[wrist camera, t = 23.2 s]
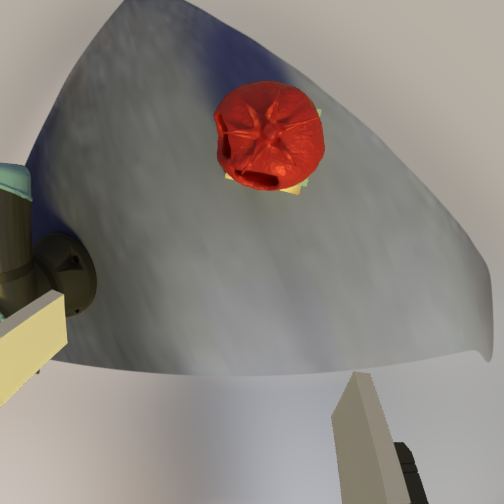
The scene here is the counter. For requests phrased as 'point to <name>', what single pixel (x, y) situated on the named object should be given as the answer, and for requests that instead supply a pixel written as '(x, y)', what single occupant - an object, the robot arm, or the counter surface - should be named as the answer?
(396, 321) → the counter surface
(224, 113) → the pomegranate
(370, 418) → the robot arm
